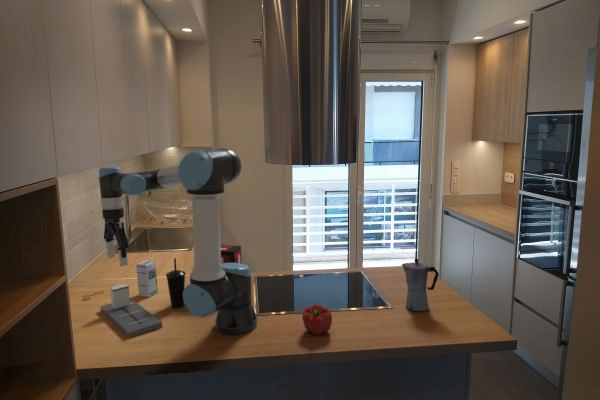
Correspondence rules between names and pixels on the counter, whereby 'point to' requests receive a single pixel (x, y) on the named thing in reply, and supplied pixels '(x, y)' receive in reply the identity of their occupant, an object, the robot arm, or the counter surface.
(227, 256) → the cleaning product box
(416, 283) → the moka pot
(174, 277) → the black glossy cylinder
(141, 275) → the syrup box
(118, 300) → the fader knob
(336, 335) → the counter surface
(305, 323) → the vegetable
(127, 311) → the fader console
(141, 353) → the counter surface
